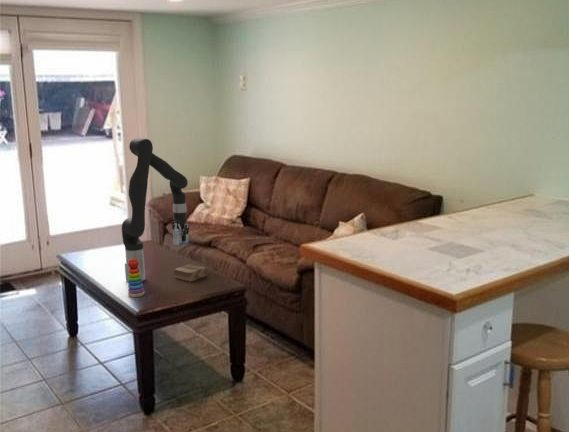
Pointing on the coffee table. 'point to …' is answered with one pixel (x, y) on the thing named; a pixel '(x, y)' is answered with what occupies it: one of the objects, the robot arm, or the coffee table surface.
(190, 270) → the tan square block
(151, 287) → the coffee table surface
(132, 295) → the stacking toy
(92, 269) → the coffee table surface
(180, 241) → the medicine box
